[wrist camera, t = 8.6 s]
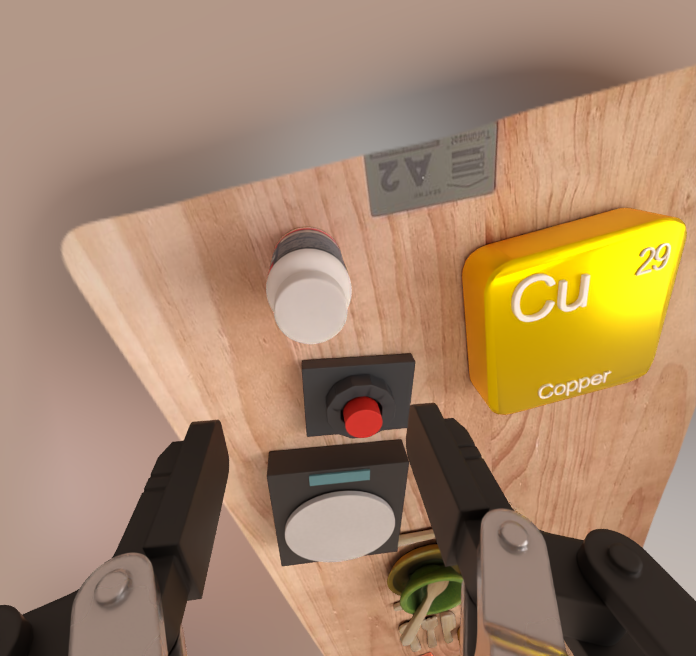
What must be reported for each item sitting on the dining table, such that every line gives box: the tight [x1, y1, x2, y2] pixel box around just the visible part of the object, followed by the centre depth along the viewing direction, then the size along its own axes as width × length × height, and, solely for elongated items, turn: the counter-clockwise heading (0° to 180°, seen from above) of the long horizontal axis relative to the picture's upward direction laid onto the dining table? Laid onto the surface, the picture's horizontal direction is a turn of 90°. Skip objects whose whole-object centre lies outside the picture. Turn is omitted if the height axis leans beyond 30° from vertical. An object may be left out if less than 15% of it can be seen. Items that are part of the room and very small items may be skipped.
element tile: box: [462, 208, 687, 415], centre depth 28 cm, size 15×15×5 cm
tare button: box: [343, 397, 383, 438], centre depth 30 cm, size 3×3×2 cm
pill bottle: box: [266, 227, 352, 344], centre depth 22 cm, size 5×5×9 cm
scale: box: [267, 440, 409, 566], centre depth 38 cm, size 14×16×4 cm
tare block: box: [302, 354, 415, 438], centre depth 31 cm, size 10×8×3 cm
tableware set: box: [387, 529, 463, 652], centre depth 52 cm, size 41×28×6 cm
